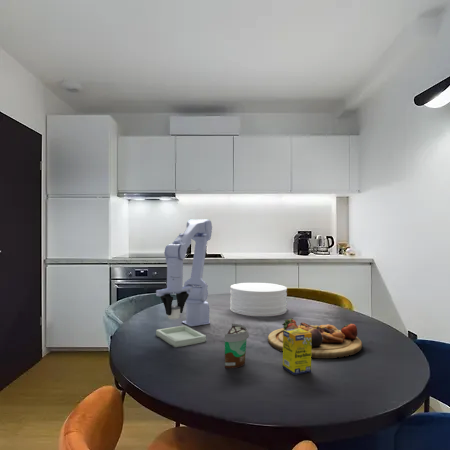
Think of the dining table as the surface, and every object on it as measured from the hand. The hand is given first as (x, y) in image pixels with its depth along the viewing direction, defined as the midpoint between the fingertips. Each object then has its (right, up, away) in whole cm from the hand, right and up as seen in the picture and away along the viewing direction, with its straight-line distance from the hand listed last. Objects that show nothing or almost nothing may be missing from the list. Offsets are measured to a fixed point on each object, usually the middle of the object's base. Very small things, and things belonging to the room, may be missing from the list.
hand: (174, 313), depth 128 cm
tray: (+3, -8, -2) cm, 9 cm away
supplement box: (+39, -9, -29) cm, 49 cm away
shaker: (0, -1, 0) cm, 1 cm away
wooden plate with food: (+50, -10, -5) cm, 51 cm away
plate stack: (+35, -10, +47) cm, 59 cm away
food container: (+23, -9, -24) cm, 34 cm away
